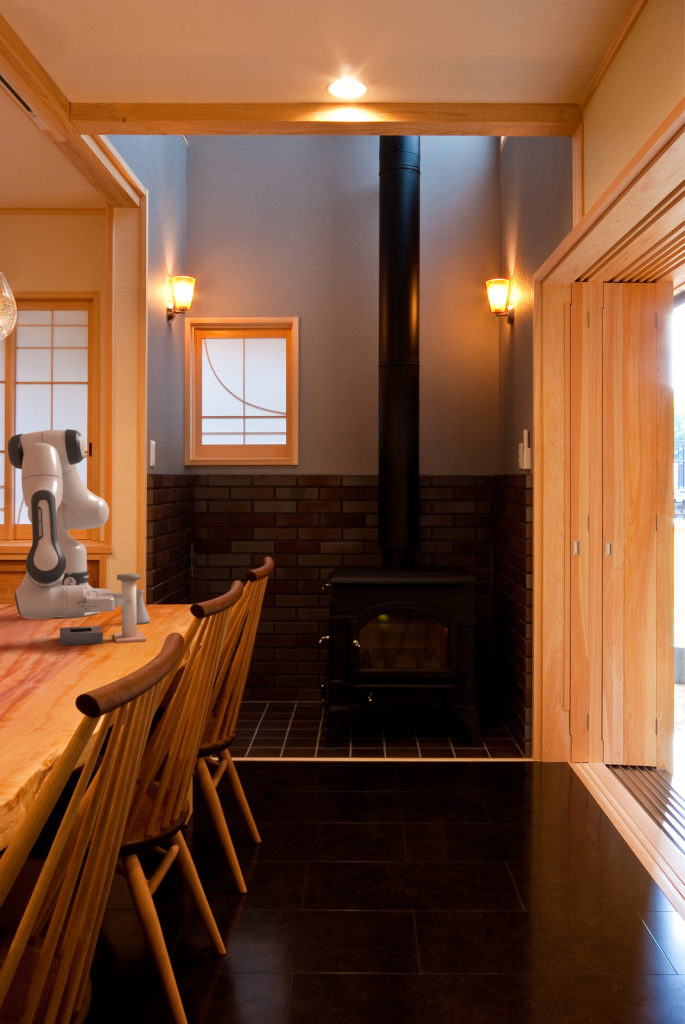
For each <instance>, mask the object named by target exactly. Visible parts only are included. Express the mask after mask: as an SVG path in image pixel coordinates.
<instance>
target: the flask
mask: <svg viewBox="0 0 685 1024" xmlns="http://www.w3.org/2000/svg"><path fill="white" fill-rule="evenodd" d="M144 592H145V591H144V589H136V625H138V624H140V625H141V624H146V623H150V622H151V619H150V616H149V614H148V610H147V608H146V605H145V602H144V596H143V595H144Z"/></svg>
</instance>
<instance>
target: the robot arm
mask: <svg viewBox="0 0 685 1024" xmlns="http://www.w3.org/2000/svg"><path fill="white" fill-rule="evenodd" d="M85 454H86V443H85V439H84V438H83V436H82V433H80V431H78V430H75V429H66V430H65V429H48V430H46V429H45V430H42V431H33V432H28V433H24V434H23V433H19V434H14V435H13V436H11V437H10V438H9V440H8V442H7V447H6V455H7V458H8V460H9V462H10V464H11V466H13V467H14V468H15V469H18V470H21V490H22V497H23V501H24V504H25V506H26V508H27V518H28V520H29V522H30V523H31V529H32V544H31V548H30V549H29V552H28V554H27V556H26V559H25V567H26V573H25V576H24V577H23V580H22V581H21V583H20V585H19V586H18V587H17V589H16V590H14V601H15V606H16V609H17V613H18V614H19V616H21V617H22V618H24V619H29V620H30V619H31V620H32V619H33V620H48V619H54V618H63V619H67V618H68V619H69V618H70V619H71V618H72V619H74V618H84V617H85V616H90V615H96V614H100V612H101V613H104V612H106V613H107V612H113V611H115V609H116V607H119V608H120V607H122V606H124V605H131V599H130V598H124V599H122V593H120V592H119V593H118V592H111V590H110V589H109V588H108V589H107V588H96V587H95V588H94V587H92V586H91V585H90V583H89V577H90V575H89V571H88V563H87V562H88V559H87V558H88V557H87V556H88V553H87V548H86V546H85V544H84V543H82V542H81V541H79V540H77V539H75V538H73V537H72V536H71V535H70V533H69V532H70V531H69V530H91V529H95V528H96V529H97V528H101V527H103V526H105V524H106V523H107V521H108V519H109V517H110V516H109V515H110V508H109V505H108V503H107V501H106V500H105V498H103V497H100V496H98V495H96V494H95V493H93V492H92V491H91V490H89V489H88V488H87V487H86V485H84V483H83V482H82V480H81V478H80V475H79V471H78V468H77V464H80V463H81V462H82V461H83V460H84V458H85Z"/></svg>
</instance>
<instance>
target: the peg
mask: <svg viewBox="0 0 685 1024" xmlns="http://www.w3.org/2000/svg"><path fill="white" fill-rule="evenodd" d="M116 580H117V581H120V583H121V585H120V586H121V589H120V591H121V594H122V599H124V598H130V599H131V605H124V606H121V633H122V637H135V636H137V632H138V631H137V629H138V628H137V627H138V626H137V625H138V624H136V590H137V581H139V580H141V573H120V574H116Z"/></svg>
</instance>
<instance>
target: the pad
mask: <svg viewBox="0 0 685 1024" xmlns="http://www.w3.org/2000/svg"><path fill="white" fill-rule="evenodd" d="M112 636H113V638H114V641H115V643H116V644H119V643H121V644H122V643H123V644H124V643H137V642H140V641H141V642H147V638H146V636H145V635H144V633H143V631H137V636H135V637H122V632H112ZM141 642H140V643H141Z"/></svg>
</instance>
